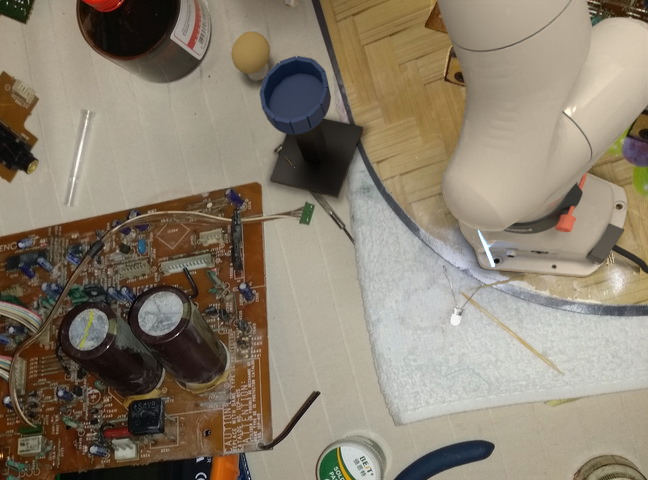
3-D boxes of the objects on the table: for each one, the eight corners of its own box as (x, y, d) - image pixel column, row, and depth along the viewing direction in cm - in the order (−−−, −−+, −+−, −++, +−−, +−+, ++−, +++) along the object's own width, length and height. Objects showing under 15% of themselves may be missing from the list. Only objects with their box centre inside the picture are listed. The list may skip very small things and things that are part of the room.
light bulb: (262, 95, 123) (250, 69, 114) (233, 79, 125) (220, 52, 116) (284, 63, 122) (274, 34, 113) (255, 47, 124) (242, 17, 115)
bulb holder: (340, 77, 97) (337, 62, 93) (317, 140, 98) (313, 128, 94) (279, 66, 100) (273, 51, 96) (257, 127, 101) (250, 115, 97)
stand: (363, 129, 117) (354, 69, 96) (337, 198, 118) (323, 153, 98) (295, 114, 121) (272, 54, 101) (271, 181, 122) (244, 135, 102)
